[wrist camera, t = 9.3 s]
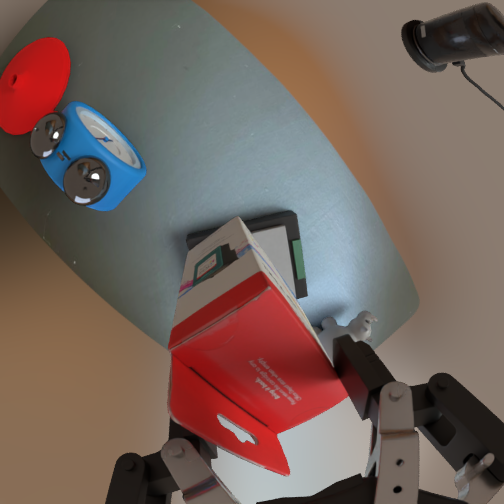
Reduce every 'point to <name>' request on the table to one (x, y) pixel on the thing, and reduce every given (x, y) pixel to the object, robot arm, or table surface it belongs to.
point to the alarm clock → (87, 156)
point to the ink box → (244, 351)
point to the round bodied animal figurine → (344, 330)
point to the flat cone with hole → (33, 84)
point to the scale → (274, 246)
